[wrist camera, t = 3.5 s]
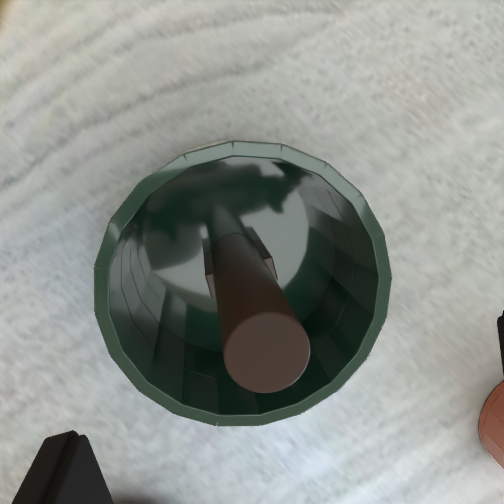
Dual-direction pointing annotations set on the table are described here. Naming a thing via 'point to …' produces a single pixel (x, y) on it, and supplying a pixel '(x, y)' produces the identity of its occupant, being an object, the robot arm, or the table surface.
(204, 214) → the pot
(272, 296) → the brown cylindrical rod
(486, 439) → the utensil cup
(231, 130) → the table surface
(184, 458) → the table surface
